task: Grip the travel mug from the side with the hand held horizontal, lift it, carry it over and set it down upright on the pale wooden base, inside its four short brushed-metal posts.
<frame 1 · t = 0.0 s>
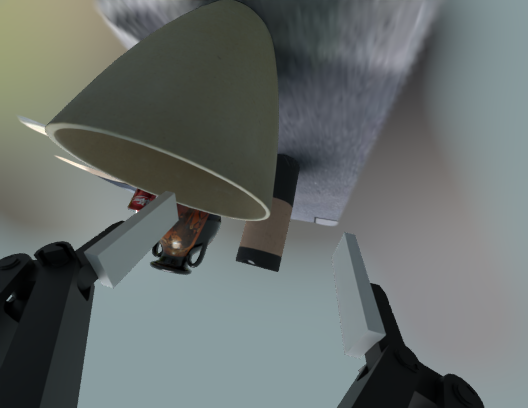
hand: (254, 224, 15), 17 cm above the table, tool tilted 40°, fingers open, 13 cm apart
plant pot: (237, 45, 19), on the table, touching gripper
amphora vase: (200, 191, 70), on the table
soda can: (150, 184, 77), on the table
travel mug: (282, 163, 38), on the table
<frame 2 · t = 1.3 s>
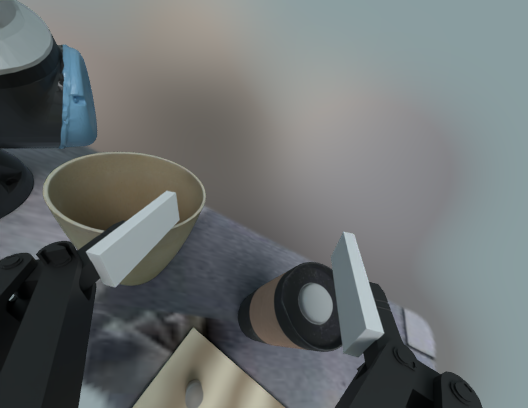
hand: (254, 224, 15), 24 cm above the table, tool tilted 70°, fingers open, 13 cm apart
plant pot: (136, 265, 31), point 1 cm above the table
travel mug: (257, 315, 34), on the table
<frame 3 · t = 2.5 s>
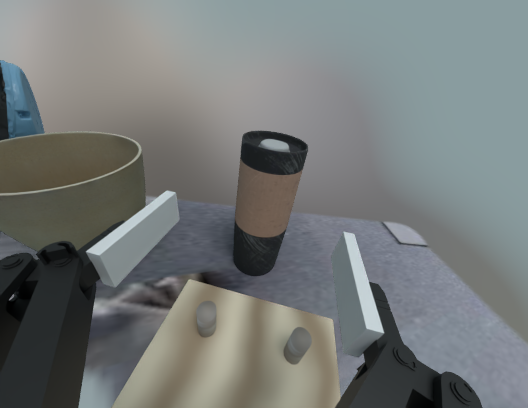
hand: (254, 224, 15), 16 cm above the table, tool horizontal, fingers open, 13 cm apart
post base: (234, 403, 18), on the table
plant pot: (111, 255, 29), on the table
travel mug: (254, 258, 33), on the table
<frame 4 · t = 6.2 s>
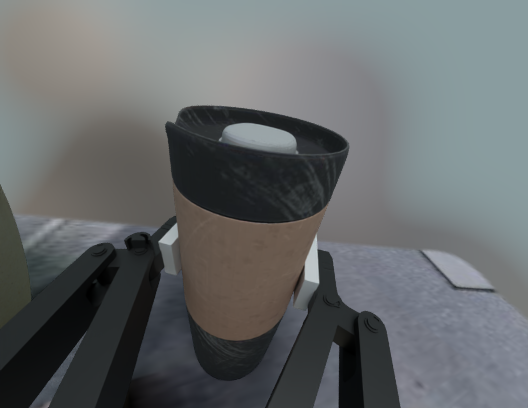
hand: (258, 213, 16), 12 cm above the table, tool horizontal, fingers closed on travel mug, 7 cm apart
travel mug: (232, 335, 19), on the table, touching gripper
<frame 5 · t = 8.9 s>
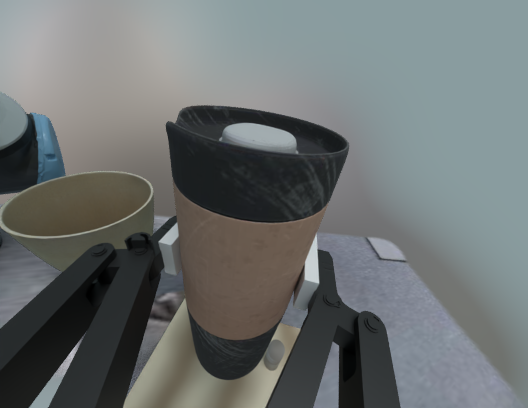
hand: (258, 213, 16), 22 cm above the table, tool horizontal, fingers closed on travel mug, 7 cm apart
post base: (220, 402, 22), on the table
plant pot: (120, 273, 34), on the table
travel mug: (232, 334, 19), point 10 cm above the table, touching gripper
when the fingers open (14 cm above the table, at t = 11.5 s): travel mug moves 1 cm, resting on post base.
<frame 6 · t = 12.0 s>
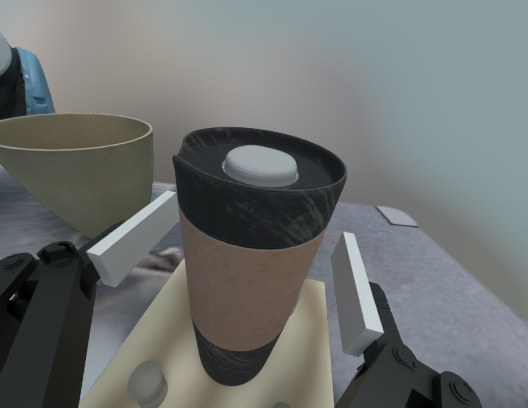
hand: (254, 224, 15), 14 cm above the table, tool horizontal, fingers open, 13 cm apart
post base: (232, 346, 20), on the table
plant pot: (118, 229, 31), on the table
travel mug: (235, 341, 20), point 1 cm above the table, touching post base
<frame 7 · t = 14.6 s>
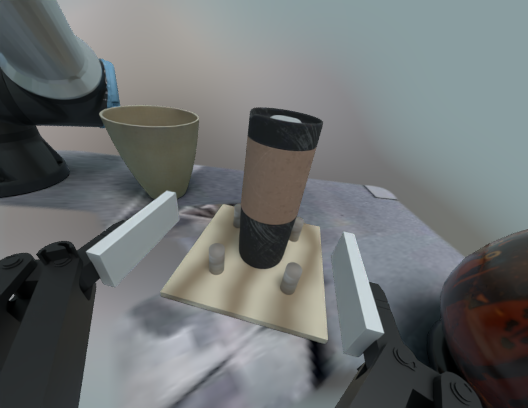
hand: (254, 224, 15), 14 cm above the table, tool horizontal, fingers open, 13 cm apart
post base: (258, 255, 31), on the table
plant pot: (167, 193, 42), on the table, touching arm
travel mug: (260, 251, 30), point 1 cm above the table, touching post base
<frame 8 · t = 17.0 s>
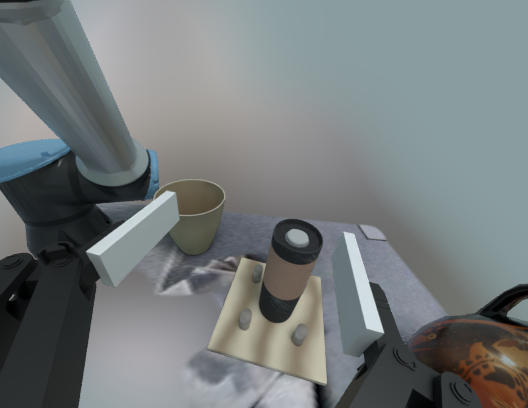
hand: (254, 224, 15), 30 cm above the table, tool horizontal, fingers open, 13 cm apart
post base: (273, 308, 40), on the table
plant pot: (195, 245, 51), on the table
travel mug: (275, 305, 40), point 1 cm above the table, touching post base
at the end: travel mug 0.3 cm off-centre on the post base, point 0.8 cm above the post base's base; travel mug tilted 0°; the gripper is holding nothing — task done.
